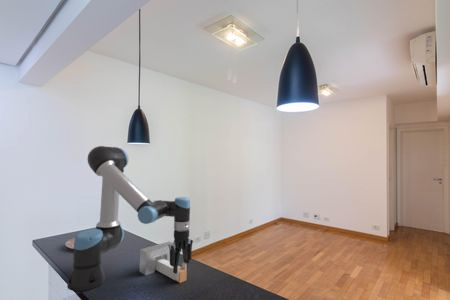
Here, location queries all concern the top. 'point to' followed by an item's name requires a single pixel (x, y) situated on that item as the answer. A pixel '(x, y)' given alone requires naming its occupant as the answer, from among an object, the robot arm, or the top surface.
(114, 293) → the top surface
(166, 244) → the grey arch-shaped block
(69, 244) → the dinner plate
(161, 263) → the white and orange bar
